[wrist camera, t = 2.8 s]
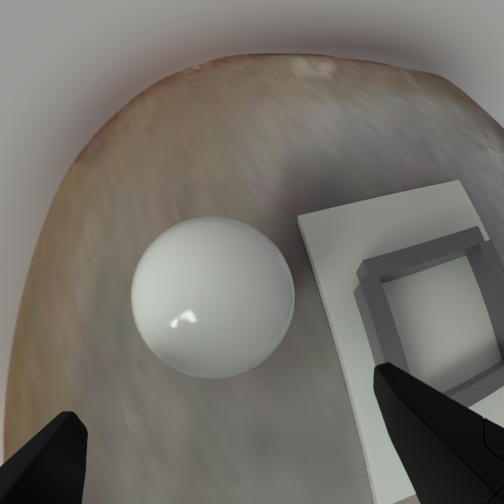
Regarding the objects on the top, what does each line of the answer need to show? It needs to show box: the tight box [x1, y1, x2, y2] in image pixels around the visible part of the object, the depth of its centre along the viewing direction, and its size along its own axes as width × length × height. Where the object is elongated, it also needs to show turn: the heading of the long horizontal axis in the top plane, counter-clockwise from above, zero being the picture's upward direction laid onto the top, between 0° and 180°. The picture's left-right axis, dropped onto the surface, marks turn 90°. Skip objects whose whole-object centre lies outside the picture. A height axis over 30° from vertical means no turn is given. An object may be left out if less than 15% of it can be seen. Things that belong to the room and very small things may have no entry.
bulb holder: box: [297, 180, 504, 504], centre depth 17 cm, size 20×14×3 cm
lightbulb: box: [131, 216, 295, 379], centre depth 15 cm, size 6×6×11 cm
